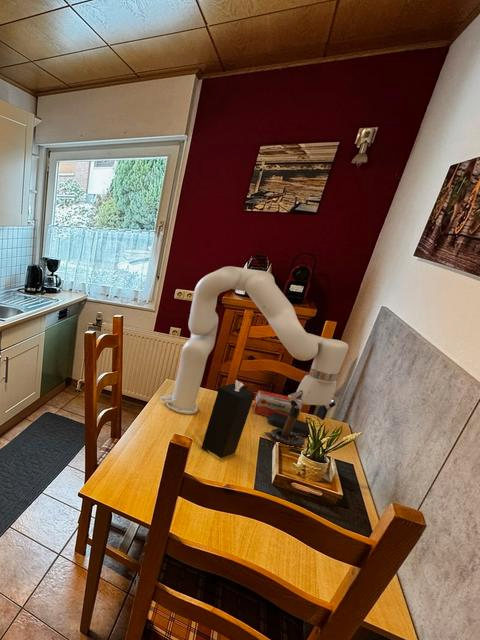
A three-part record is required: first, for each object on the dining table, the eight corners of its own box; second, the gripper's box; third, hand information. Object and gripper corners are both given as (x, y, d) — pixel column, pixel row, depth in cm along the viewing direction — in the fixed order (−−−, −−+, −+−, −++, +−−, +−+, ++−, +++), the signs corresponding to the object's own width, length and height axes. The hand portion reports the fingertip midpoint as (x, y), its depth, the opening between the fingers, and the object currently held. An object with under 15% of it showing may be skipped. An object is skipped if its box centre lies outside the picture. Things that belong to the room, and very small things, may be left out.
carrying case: (265, 427, 156) (310, 441, 148) (267, 420, 155) (313, 434, 146) (268, 416, 164) (311, 430, 155) (271, 410, 163) (314, 423, 154)
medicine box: (253, 413, 166) (259, 396, 163) (252, 405, 173) (258, 389, 170) (296, 423, 159) (302, 407, 156) (293, 415, 166) (300, 399, 163)
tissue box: (220, 460, 134) (244, 388, 123) (200, 448, 140) (221, 378, 129) (234, 455, 137) (258, 384, 126) (214, 443, 144) (235, 374, 133)
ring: (280, 446, 141) (282, 442, 140) (264, 431, 150) (265, 426, 150) (310, 448, 140) (312, 444, 140) (291, 432, 150) (293, 428, 149)
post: (277, 449, 142) (287, 422, 137) (263, 435, 150) (272, 409, 146) (302, 450, 142) (313, 423, 137) (287, 436, 150) (297, 411, 145)
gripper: (340, 371, 138) (323, 413, 144) (290, 368, 138) (275, 410, 145) (357, 380, 131) (338, 424, 137) (304, 377, 132) (288, 421, 138)
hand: (306, 417), depth 141 cm, fingers open, 9 cm apart
